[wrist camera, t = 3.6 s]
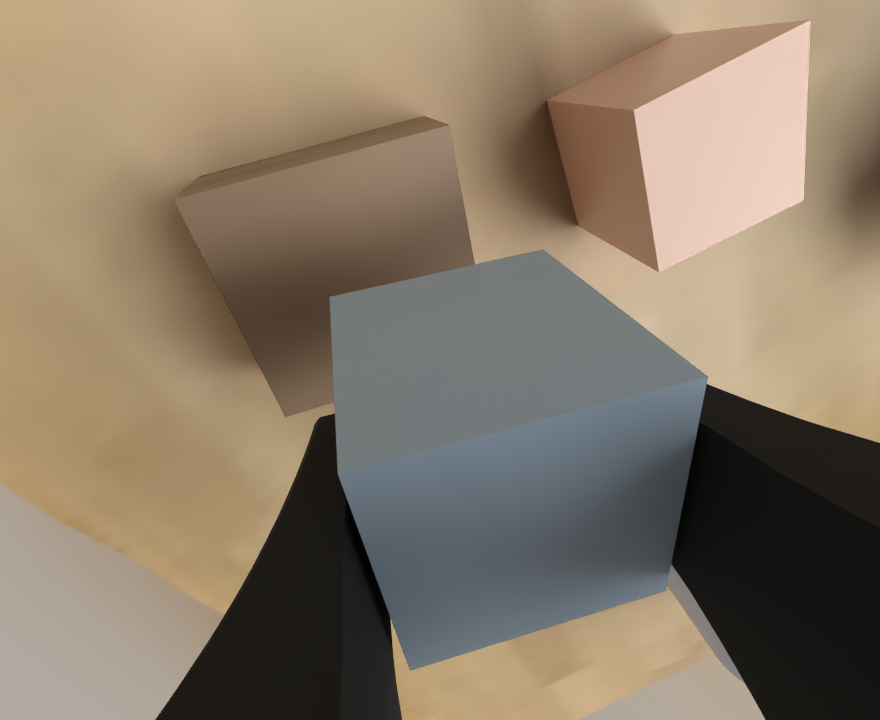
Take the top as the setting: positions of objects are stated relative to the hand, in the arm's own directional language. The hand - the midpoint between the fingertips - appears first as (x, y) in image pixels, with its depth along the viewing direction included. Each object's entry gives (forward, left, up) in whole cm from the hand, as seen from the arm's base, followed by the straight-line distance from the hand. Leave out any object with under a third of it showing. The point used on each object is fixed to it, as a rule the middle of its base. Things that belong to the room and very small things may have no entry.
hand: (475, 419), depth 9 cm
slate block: (0, 0, -2) cm, 2 cm away
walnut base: (+1, +2, -9) cm, 9 cm away
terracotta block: (+3, -8, -9) cm, 13 cm away
